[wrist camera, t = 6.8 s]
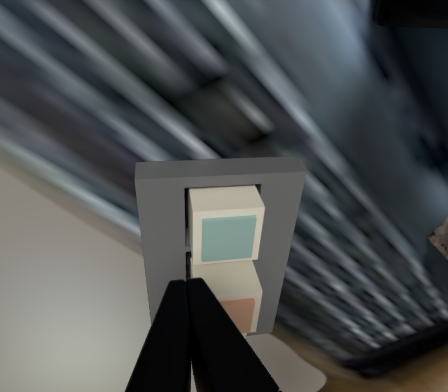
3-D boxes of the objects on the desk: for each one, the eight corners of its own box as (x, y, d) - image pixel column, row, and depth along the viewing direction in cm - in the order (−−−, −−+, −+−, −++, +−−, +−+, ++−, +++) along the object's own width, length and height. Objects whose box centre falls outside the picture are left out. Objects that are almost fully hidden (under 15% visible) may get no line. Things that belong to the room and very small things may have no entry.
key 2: (249, 252, 23) (264, 295, 20) (244, 292, 25) (256, 335, 22) (190, 258, 22) (196, 302, 19) (190, 298, 24) (196, 343, 21)
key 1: (250, 176, 21) (266, 210, 18) (245, 225, 24) (258, 262, 21) (187, 179, 21) (193, 215, 18) (188, 230, 23) (193, 268, 20)
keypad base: (295, 156, 22) (306, 171, 20) (265, 313, 31) (272, 332, 29) (136, 162, 20) (134, 179, 19) (153, 326, 29) (154, 347, 27)
